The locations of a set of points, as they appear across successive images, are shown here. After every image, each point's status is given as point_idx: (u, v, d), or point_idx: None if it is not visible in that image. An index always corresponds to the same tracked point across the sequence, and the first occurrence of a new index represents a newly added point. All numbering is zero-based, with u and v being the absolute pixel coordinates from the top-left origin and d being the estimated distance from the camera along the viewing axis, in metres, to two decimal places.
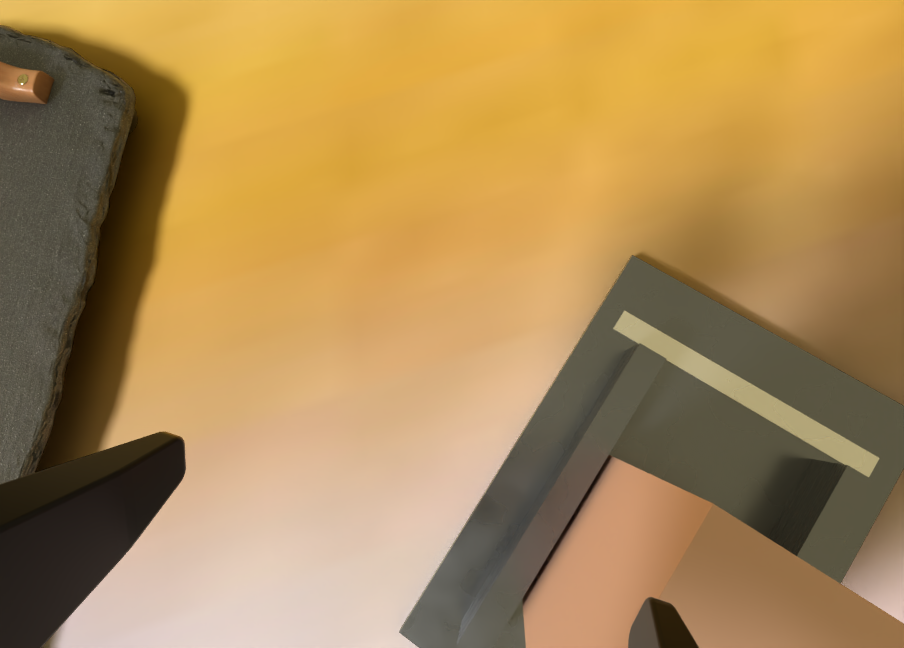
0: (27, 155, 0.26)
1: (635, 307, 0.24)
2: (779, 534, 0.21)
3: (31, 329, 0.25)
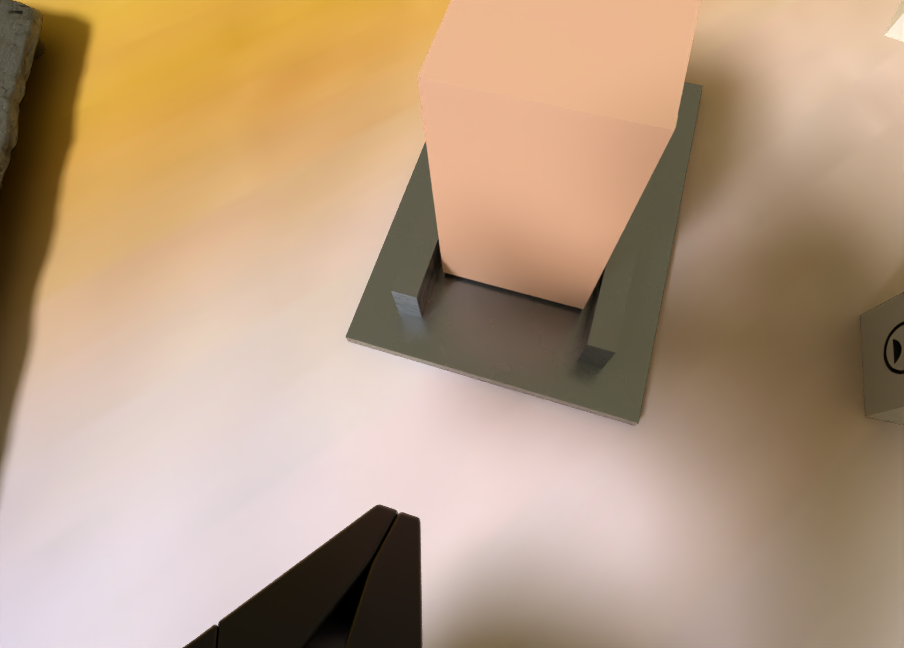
0: None
1: None
2: None
3: None
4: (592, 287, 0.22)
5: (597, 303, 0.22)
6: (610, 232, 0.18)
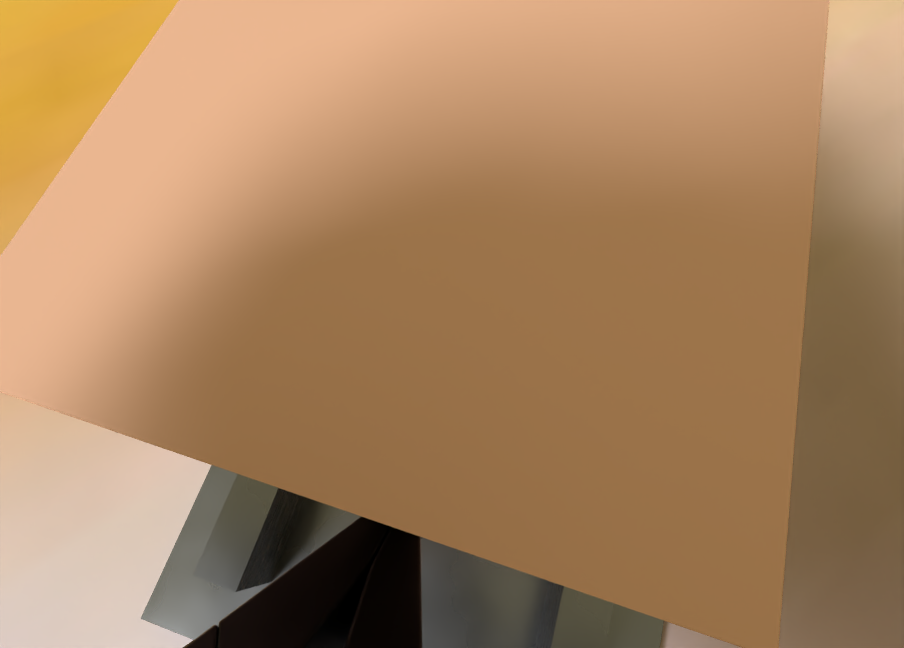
0: None
1: None
2: None
3: None
4: None
5: (559, 610, 0.12)
6: None
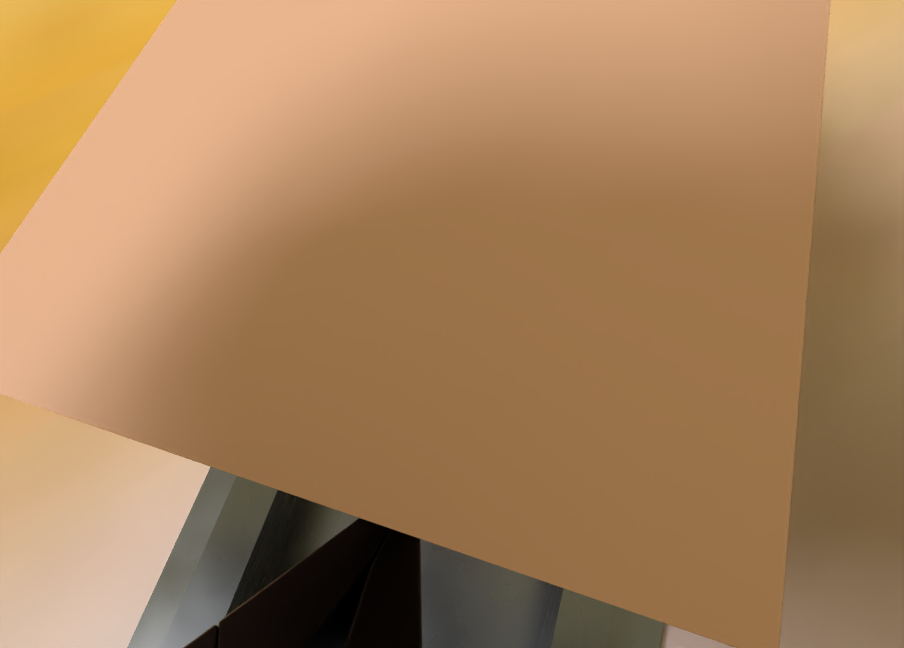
0: None
1: None
2: None
3: None
4: None
5: None
6: None
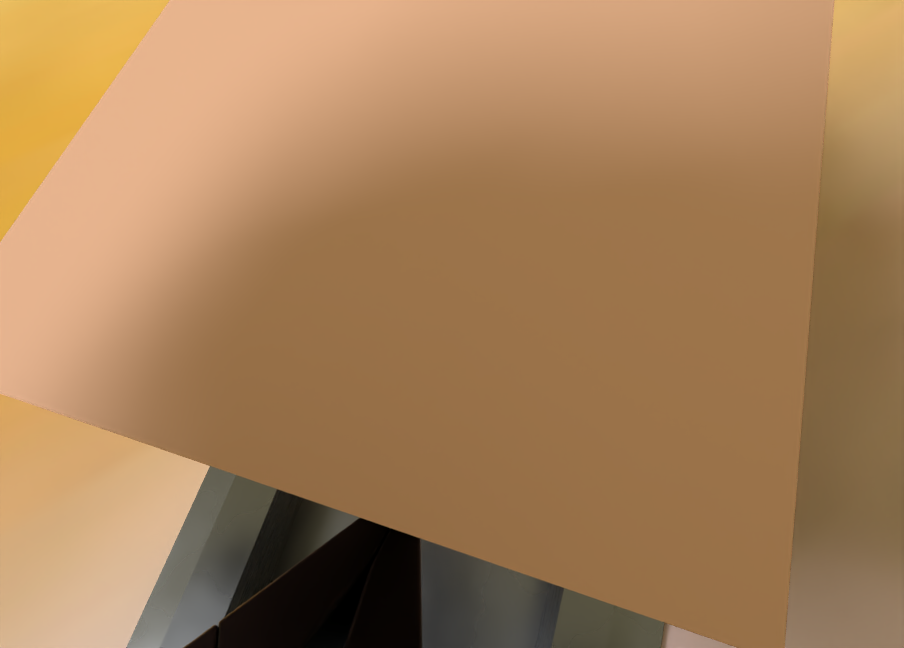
0: None
1: None
2: (539, 643, 0.13)
3: None
4: None
5: None
6: None
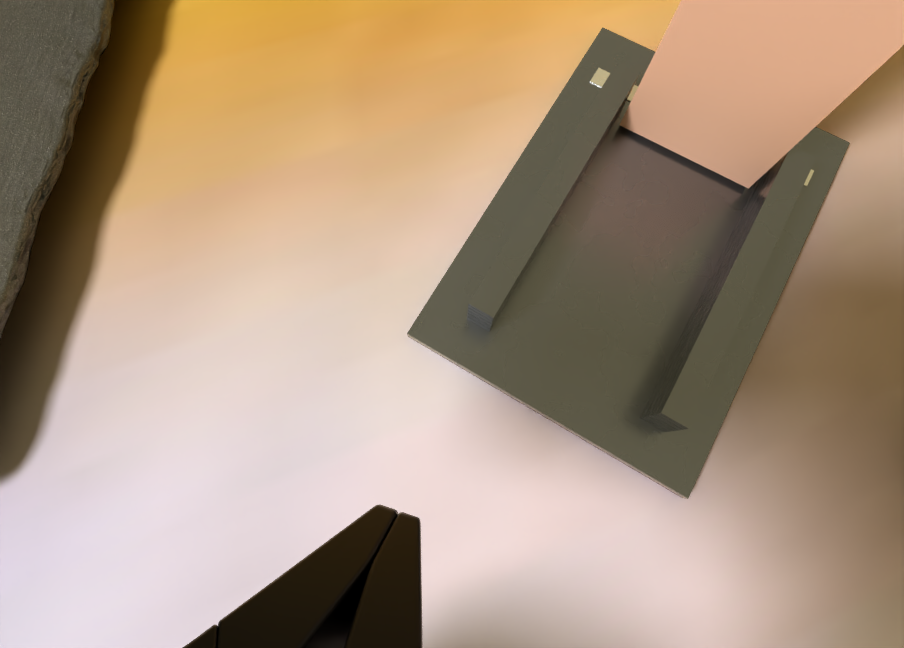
0: None
1: (607, 65, 0.27)
2: (741, 223, 0.24)
3: (41, 80, 0.25)
4: (777, 159, 0.23)
5: (682, 370, 0.21)
6: (843, 87, 0.19)
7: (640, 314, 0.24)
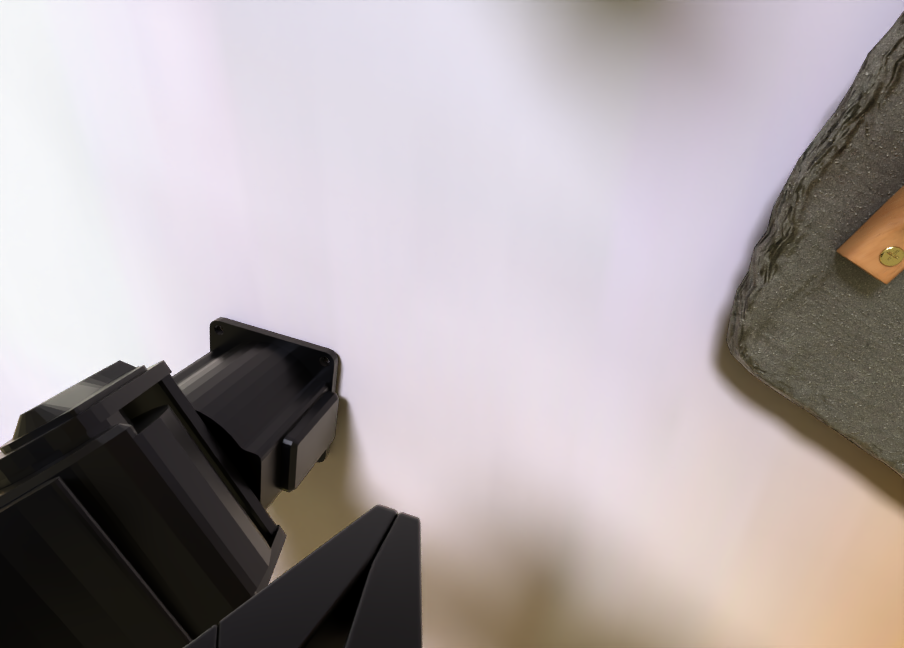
0: None
1: None
2: None
3: None
4: None
5: None
6: None
7: None
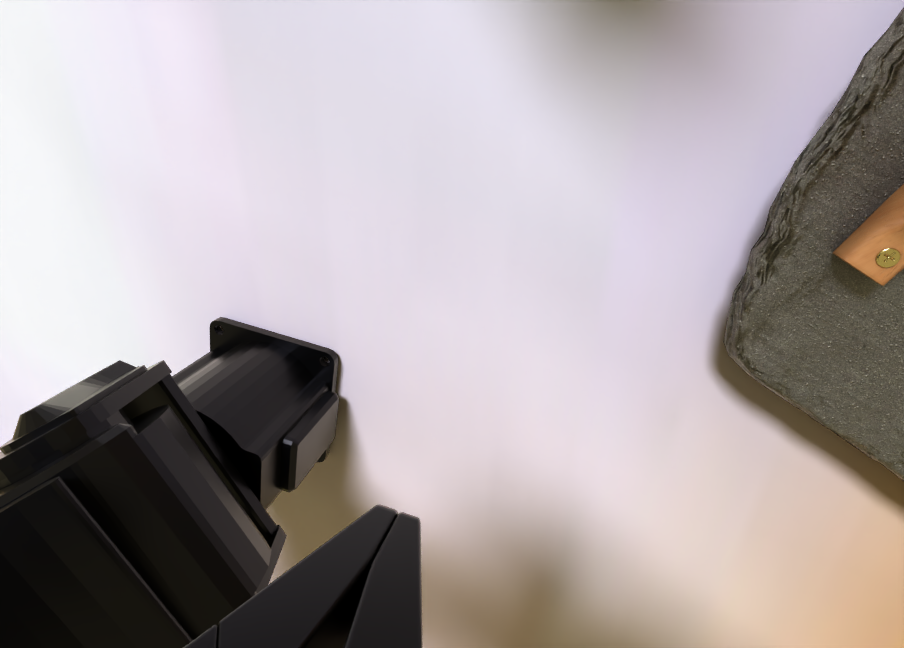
0: None
1: None
2: None
3: None
4: None
5: None
6: None
7: None
